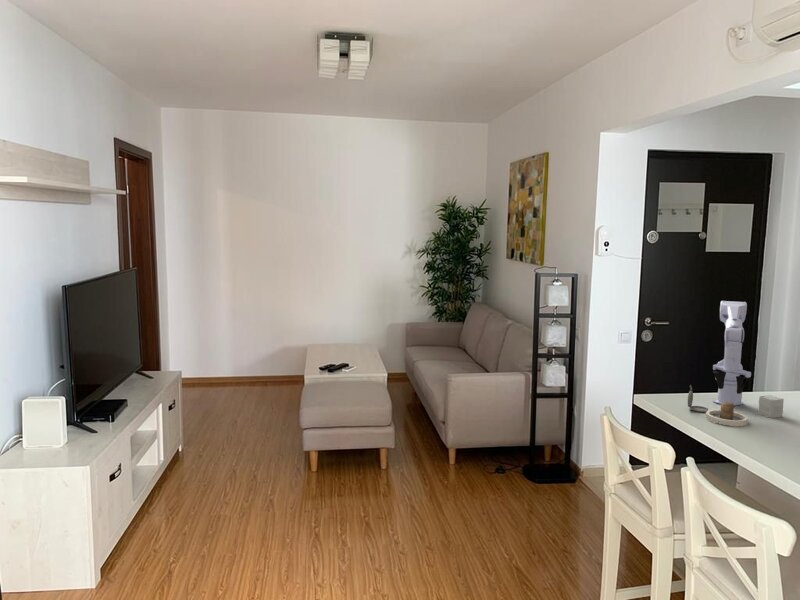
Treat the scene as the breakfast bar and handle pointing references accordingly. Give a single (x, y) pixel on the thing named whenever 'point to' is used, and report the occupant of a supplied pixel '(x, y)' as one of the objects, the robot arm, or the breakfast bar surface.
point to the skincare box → (770, 406)
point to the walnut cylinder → (727, 410)
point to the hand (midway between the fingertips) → (729, 391)
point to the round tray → (715, 417)
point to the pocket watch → (694, 408)
